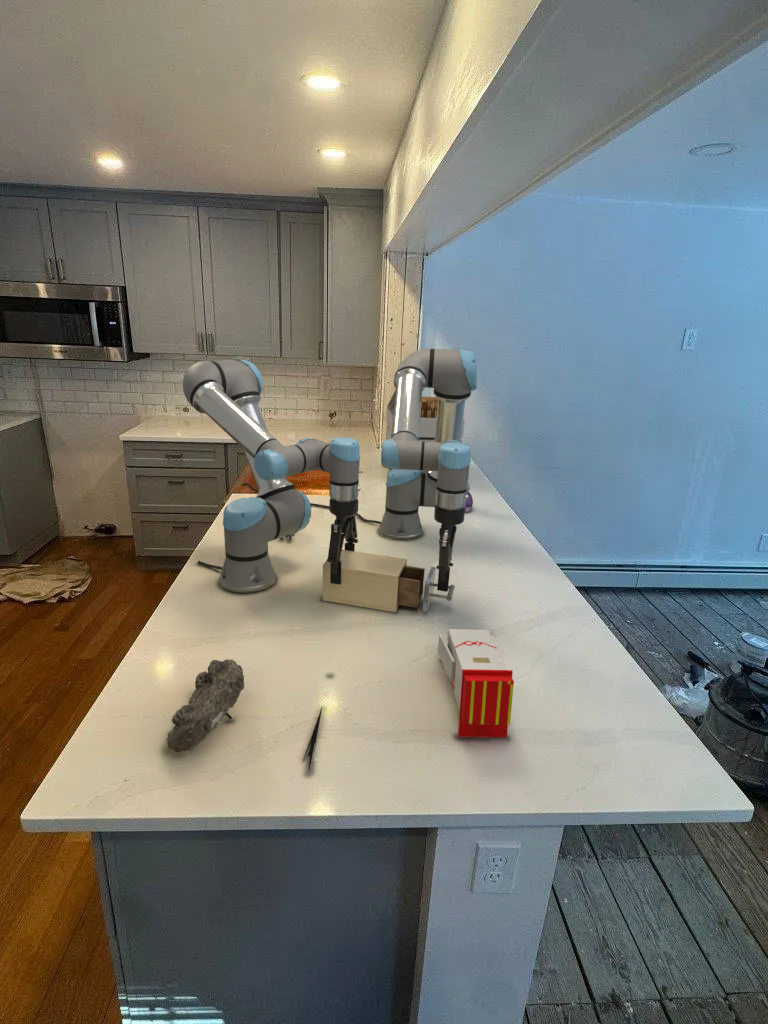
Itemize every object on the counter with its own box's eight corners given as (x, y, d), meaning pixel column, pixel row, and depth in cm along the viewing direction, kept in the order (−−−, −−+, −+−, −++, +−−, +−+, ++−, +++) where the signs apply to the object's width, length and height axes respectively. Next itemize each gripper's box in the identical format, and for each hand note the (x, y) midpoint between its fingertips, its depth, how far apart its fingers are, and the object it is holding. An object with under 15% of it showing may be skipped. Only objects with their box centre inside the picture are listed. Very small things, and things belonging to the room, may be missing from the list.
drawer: (454, 598, 155) (457, 570, 152) (449, 616, 145) (452, 587, 143) (367, 584, 160) (368, 557, 157) (356, 601, 151) (357, 572, 148)
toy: (488, 613, 130) (523, 677, 101) (484, 667, 133) (517, 744, 104) (435, 612, 130) (455, 676, 101) (432, 666, 133) (451, 743, 103)
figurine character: (295, 547, 188) (300, 526, 202) (294, 527, 185) (300, 506, 198) (274, 546, 188) (281, 525, 201) (273, 526, 185) (280, 506, 198)
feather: (331, 679, 122) (336, 673, 122) (307, 777, 96) (313, 769, 95) (324, 675, 122) (329, 669, 121) (298, 772, 95) (304, 764, 95)
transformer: (382, 463, 289) (386, 382, 275) (445, 464, 293) (451, 384, 279) (390, 482, 257) (394, 392, 243) (460, 483, 261) (468, 394, 247)
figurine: (459, 514, 221) (463, 477, 216) (445, 506, 229) (448, 470, 224) (479, 511, 225) (483, 475, 220) (464, 503, 234) (467, 468, 228)
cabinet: (404, 592, 159) (407, 558, 155) (395, 612, 148) (398, 576, 145) (335, 582, 163) (336, 548, 159) (322, 600, 153) (322, 564, 149)
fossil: (192, 660, 117) (244, 628, 112) (224, 691, 120) (276, 661, 115) (142, 746, 98) (202, 712, 93) (182, 779, 101) (242, 748, 96)
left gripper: (343, 514, 136) (342, 595, 143) (369, 486, 158) (367, 558, 165) (314, 510, 137) (314, 591, 145) (344, 483, 159) (342, 554, 167)
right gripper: (462, 516, 134) (453, 603, 143) (468, 499, 146) (459, 580, 155) (430, 512, 136) (424, 599, 144) (439, 496, 148) (432, 576, 156)
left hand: (342, 573), depth 155 cm, fingers closed on cabinet, 11 cm apart
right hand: (442, 589), depth 149 cm, fingers closed
